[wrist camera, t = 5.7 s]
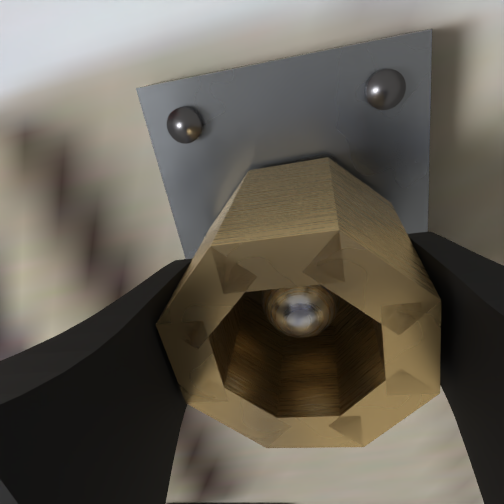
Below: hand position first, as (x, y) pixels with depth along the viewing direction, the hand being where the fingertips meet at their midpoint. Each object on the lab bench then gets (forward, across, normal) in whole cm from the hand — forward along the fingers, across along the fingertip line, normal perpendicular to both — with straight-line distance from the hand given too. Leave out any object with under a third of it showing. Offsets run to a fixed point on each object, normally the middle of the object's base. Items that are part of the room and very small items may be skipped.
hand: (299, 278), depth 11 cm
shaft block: (+3, 0, 0) cm, 3 cm away
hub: (+2, 0, 0) cm, 2 cm away
